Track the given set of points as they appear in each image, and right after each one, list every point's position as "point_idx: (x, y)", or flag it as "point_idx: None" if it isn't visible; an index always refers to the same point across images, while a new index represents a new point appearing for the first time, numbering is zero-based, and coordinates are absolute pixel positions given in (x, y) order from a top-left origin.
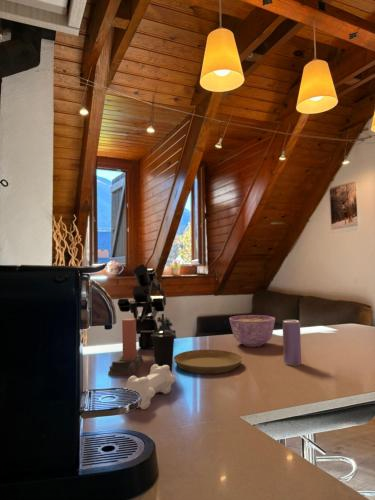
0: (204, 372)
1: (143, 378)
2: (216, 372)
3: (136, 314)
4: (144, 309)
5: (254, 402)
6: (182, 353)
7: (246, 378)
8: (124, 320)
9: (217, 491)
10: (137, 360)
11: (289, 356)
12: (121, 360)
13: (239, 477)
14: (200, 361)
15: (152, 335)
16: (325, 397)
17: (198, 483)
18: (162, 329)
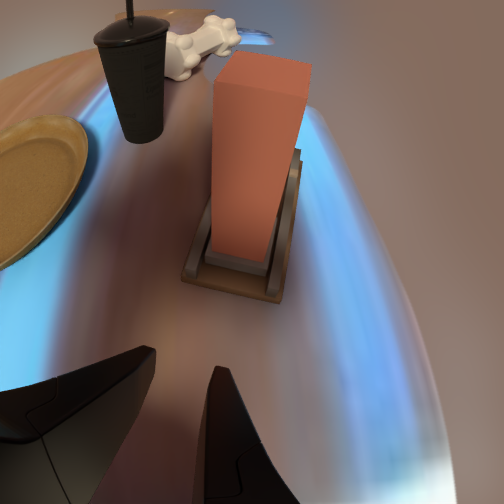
0: (52, 134)
1: (212, 15)
2: (31, 137)
3: (199, 466)
4: (9, 412)
5: (73, 62)
6: (22, 249)
7: (12, 121)
8: (295, 62)
9: (179, 9)
10: (209, 203)
11: None
12: (276, 218)
13: (161, 13)
14: (3, 223)
15: (168, 22)
16: (5, 79)
17: (187, 11)
18: (133, 15)
